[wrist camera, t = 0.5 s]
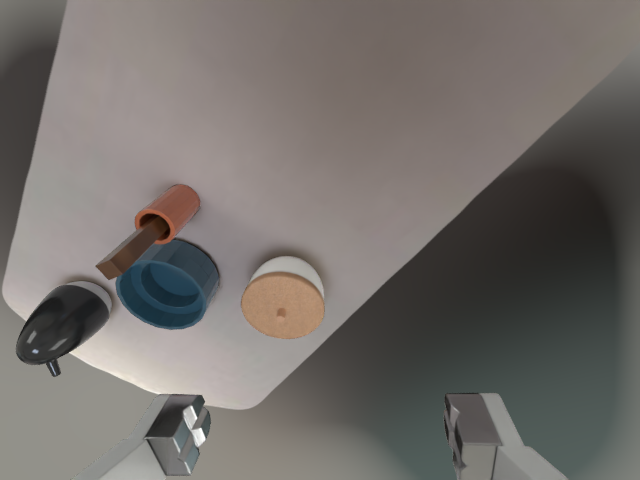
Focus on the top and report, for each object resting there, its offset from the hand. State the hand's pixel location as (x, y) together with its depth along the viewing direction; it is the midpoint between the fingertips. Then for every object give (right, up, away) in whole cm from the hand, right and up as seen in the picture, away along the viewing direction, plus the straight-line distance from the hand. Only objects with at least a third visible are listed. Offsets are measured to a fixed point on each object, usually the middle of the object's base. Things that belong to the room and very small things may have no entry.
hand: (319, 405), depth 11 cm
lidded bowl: (-5, 0, +45) cm, 45 cm away
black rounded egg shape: (-43, -5, +50) cm, 66 cm away
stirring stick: (-21, +11, +38) cm, 45 cm away
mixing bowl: (-25, 0, +46) cm, 52 cm away
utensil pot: (-21, +12, +39) cm, 46 cm away
